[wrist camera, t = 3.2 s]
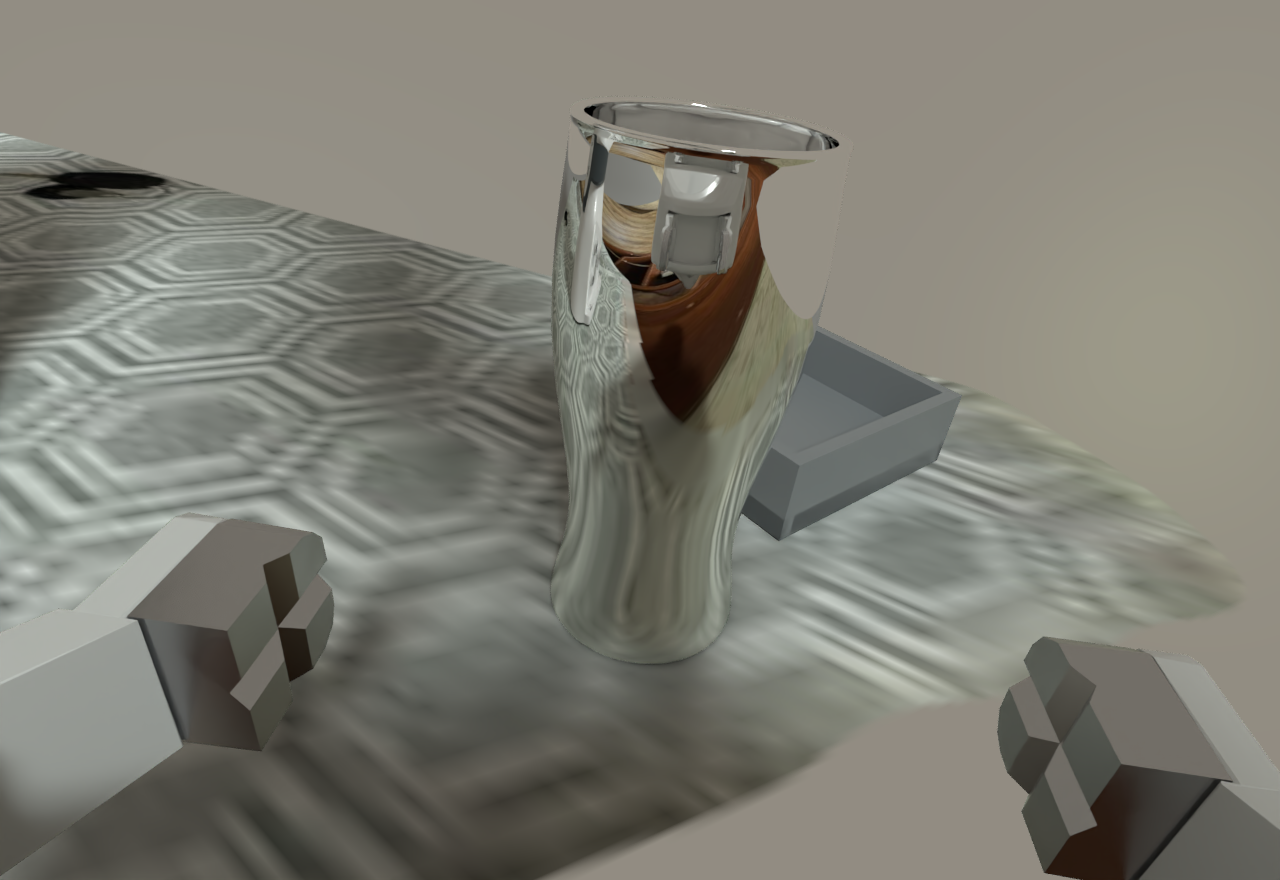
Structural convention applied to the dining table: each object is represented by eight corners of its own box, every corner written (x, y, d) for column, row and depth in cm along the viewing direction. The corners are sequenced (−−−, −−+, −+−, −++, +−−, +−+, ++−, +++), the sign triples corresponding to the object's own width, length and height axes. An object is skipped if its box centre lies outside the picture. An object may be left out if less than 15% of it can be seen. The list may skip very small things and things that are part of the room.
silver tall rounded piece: (783, 638, 24) (930, 157, 16) (589, 708, 21) (651, 154, 13) (677, 513, 29) (748, 100, 21) (507, 554, 26) (516, 88, 18)
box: (779, 540, 28) (799, 465, 26) (605, 410, 35) (612, 344, 33) (936, 460, 35) (961, 395, 33) (763, 363, 42) (776, 305, 40)
